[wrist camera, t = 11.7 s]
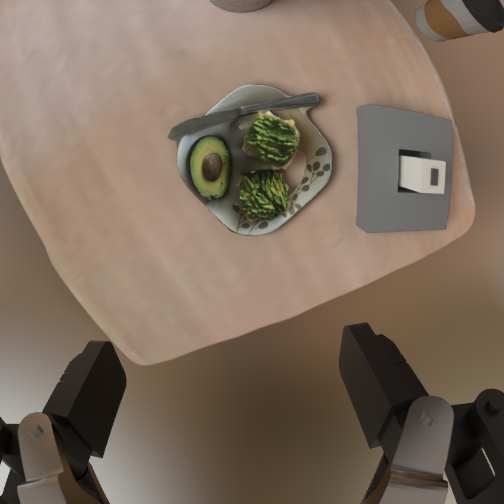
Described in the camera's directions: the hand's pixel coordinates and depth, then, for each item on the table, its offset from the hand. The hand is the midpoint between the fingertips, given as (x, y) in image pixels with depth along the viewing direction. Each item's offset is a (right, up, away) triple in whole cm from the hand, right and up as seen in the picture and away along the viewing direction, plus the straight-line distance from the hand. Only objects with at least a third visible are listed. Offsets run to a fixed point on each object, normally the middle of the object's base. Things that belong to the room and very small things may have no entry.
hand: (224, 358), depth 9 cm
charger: (+22, +15, +25) cm, 36 cm away
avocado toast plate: (+1, +15, +25) cm, 29 cm away
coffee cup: (+28, +39, +16) cm, 51 cm away
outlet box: (+22, +15, +25) cm, 36 cm away
